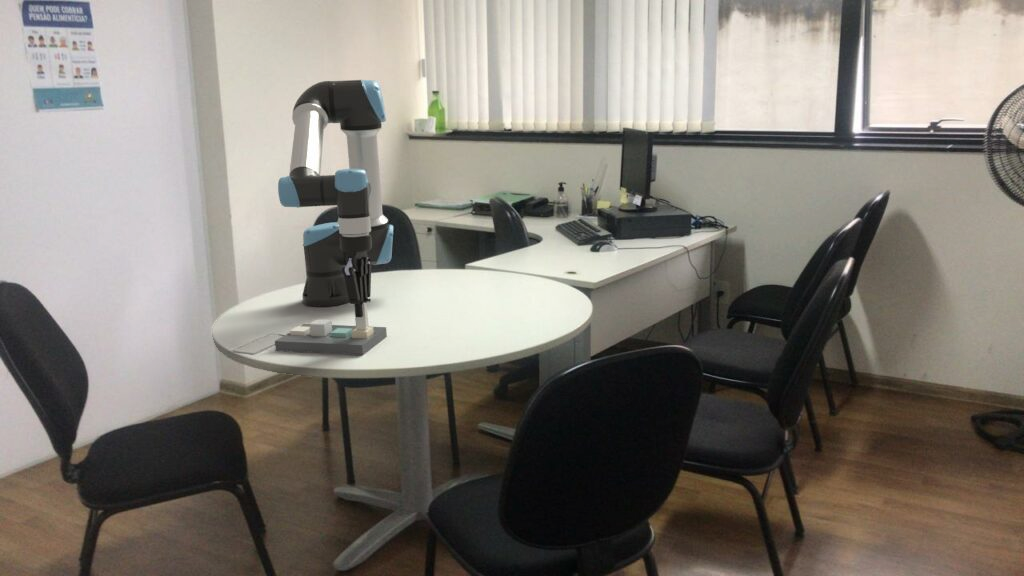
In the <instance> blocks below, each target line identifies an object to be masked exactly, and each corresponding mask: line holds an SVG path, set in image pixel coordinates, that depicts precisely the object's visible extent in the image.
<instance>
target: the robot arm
mask: <svg viewBox="0 0 1024 576" xmlns="http://www.w3.org/2000/svg"><path fill="white" fill-rule="evenodd" d="M291 118H292V122H293V125H294V132H293V142H292V149H291V150H292V151H291V157H290V164H289V166H290V167H289V174H288V175H287V176H282V177H280V178H279V179H278V184H277V191H278V192H277V194H278V199H279V202H280V205H281V206H283V207H284V208H298V209H299V208H309V207H323V206H324V207H325V206H326V207H331V206H337V207H336V208H337V218H338V219H337V221H335V222H327V223H321V224H317V225H314V226H310V227H308V228H306V229H305V230H304V231H303V233H302V235H303V237H302V238H303V239H302V240H303V241H302V242H303V244H302V246H303V251H304V263H305V273H306V277H305V278H306V279H305V282H304V287H303V291H302V304H303V305H305V306H307V307H308V306H309V307H319V308H320V307H321V308H322V307H332V306H340V305H344V304H347V303H349V304H350V305H354V306H353V308H354V317H355V318H354V319H355V320H354V322H355V326H356V329H364V330H366V329H368V328H369V327H370V326H369V317H368V303H370V302H371V300H372V298H371V291H372V290H371V289H372V288H371V287H372V286H371V285H372V284H371V283H372V265H373V266H377V265H383V264H388V263H389V262H391V260H392V252H393V242H394V241H393V239H394V238H393V237H394V225H393V224H389V219H388V218H387V216H385V215H384V214H383V212H384V211H383V201H382V188H381V177H380V175H381V174H380V173H381V172H380V161H379V146H378V133H379V132H380V131H381V130H382V129H383V128H382V123H384V122H385V123H386V121H387V116H386V109H385V104H384V97H383V93H382V89H381V87H380V84H379V82H378V81H376V80H370V79H353V80H352V79H351V80H348V79H347V80H323V81H319V82H317V83H315V84H312V85H311V86H310V87H308V88H306V89H305V90H304V91H303V92H302V93H301V95H299V97H298V98H297V100H296V102H295V103H294V106H293V109H292V117H291ZM328 124H339V125H340V131H341V132H343V133H344V134H345V136H346V143H347V144H346V145H347V154H348V155H347V156H348V168H343V169H338V170H336V171H335V173H334V174H329V175H323V174H322V175H321V171H322V170H321V169H322V155H323V154H322V153H323V143H324V133H325V131H324V130H325V128H327V126H328Z"/></svg>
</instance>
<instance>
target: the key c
mask: <svg viewBox="0 0 1024 576" xmlns="http://www.w3.org/2000/svg"><path fill="white" fill-rule="evenodd" d="M352 331H353V329H351V328H337V329H335V330H334V331H332V332H331V337H343V338H347V337H349V336H350V335H351V334H352Z"/></svg>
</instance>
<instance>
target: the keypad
mask: <svg viewBox="0 0 1024 576" xmlns="http://www.w3.org/2000/svg"><path fill="white" fill-rule="evenodd" d="M309 324H310V323H303V324H302V325H300V326H304V327H310V326H309ZM372 327H373V331H374V335H372V336H371V337H370V338H368V339H365V338H352V334H351V335H350V336H349V337H347V338H343V337H331V333H330V334H328V335H327V336H325V337H323V336H310V333H309V334H307V335H306V336H298V335H290V331H289V332H288V333H286V334H283V335H284V336H283V337H281V338H279V339H277V340H276V341H275V346H274V348H275V352H291V353H292V352H295V353H312V354H314V353H315V354H334V355H352V356H353V355H356V356H364V355H365V354H366V353H367V352H369V351H370V350H371V349H374V347H375V346H377V345H378V344H379V343H380V342H382V341H383V340H384V339H386V338H387V337H388V335H387V333H388V332H387V327H386V326H372ZM337 328H351V329H353V330H354V329H356V325H341V324H340V325H339V324H338V325H337V324H332V331H334V330H335V329H337Z"/></svg>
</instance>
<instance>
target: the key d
mask: <svg viewBox="0 0 1024 576" xmlns="http://www.w3.org/2000/svg"><path fill="white" fill-rule="evenodd" d="M373 327H374V326H369V328H368V329H366V330H364V329H354V330H353V331H352V338H365V339H368V338H370V337H371V336H372V335H374V331H373Z"/></svg>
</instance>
